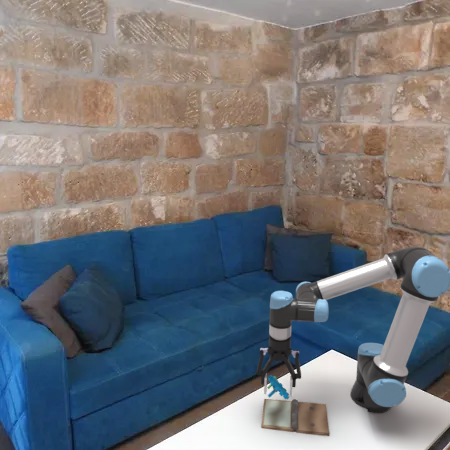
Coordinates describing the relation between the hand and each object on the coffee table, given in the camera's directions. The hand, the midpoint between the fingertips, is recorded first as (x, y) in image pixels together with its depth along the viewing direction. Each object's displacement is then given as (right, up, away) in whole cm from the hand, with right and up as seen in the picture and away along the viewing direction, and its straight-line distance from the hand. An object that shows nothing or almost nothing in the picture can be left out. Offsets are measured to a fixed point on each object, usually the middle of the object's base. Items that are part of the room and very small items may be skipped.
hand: (278, 393), depth 156 cm
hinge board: (+6, -9, +1) cm, 11 cm away
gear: (+2, -2, 0) cm, 3 cm away
